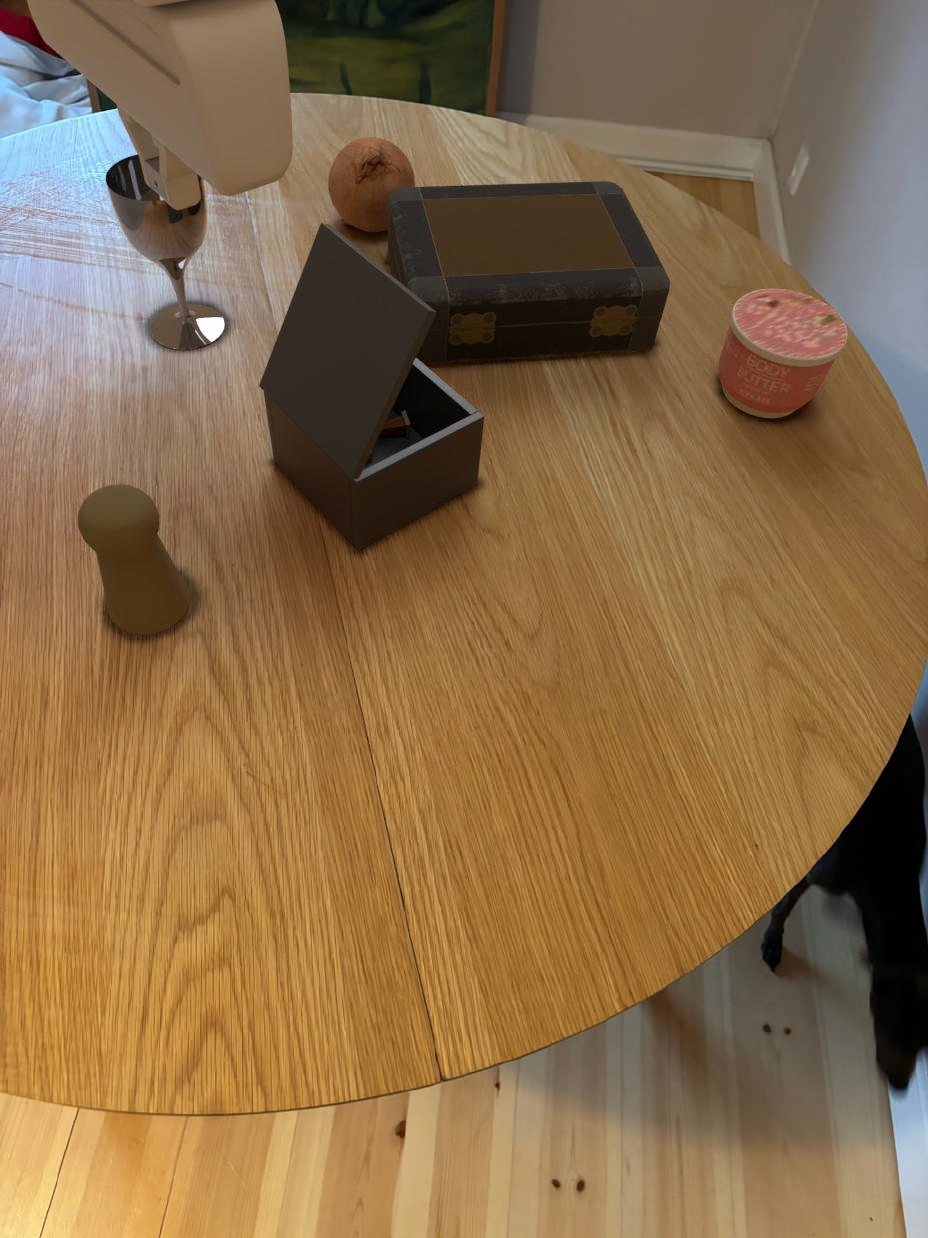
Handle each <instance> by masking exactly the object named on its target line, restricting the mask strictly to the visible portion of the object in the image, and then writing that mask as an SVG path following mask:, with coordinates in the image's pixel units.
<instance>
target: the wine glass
mask: <svg viewBox="0 0 928 1238" xmlns="http://www.w3.org/2000/svg"><path fill="white" fill-rule="evenodd" d="M197 176H198V182H199V188H200V193H201V198H200V201H199V202H198V203H197V204H196V205H194V206H190V207H187V208H184V209H181V210H176V209H173V208H172V207H171V206H170V205H169V204H168V203H167V202H166V201H165V200H164V199H163V198H162V197H161V196H160V195H159V194H158V193H157V192H155V191H154V190H153V189H152V188H150V187H149V186H148V185H147V184H146V182H145V179H144V175H143V171H142V166H141V162H140V158H139V155H138V154H137V153H136V154H133V155H129V156H126V157H124V158H122V159H120V160H118V161H117V162H115V163H114V164H112V165H111V166H110V168H109V169H107V172H106V174H105V185H106V188H107V192H108V196H109V199H110V203H111V205H112V208H113V209H112V210H113V212H114V216H115V217H116V219H117V221H118V224H119V226H120V228H121V230H122V232H123V234H124V236H125V237H126V239H127V241H128V242H129V244H130V245H131V246H132V248H133V249H134V250H136V251H137V253H139V254H140V255H141V256H143V258H146V259H148V260H149V261H150V262H152V263H153V264H155V265H157V266H158V267H159V268H160V269H162V271H164V272H165V274H166V275H167V277H168V279H169V280H170V283H171V285H172V288H173V291H174V293H175V296H176V299H177V304H178V305H174V306H171V307H168V308H166V309H164V310H162V311H161V312H159V313H158V314H157V315H156V316H154V317H153V320H152V321H151V323H150V326H149V332H150V335H151V337H152V339H153V340H155V342H156V343H158V344H160V346H164V347H166V348H169V349H173V350H182V351H183V350H184V351H187V350H195V349H200V348H203V347H206V346H208V345H211V344H212V343H214V342H216V341H217V340H218V339H219V338H220V337H221V336H222V335H223V333H224V331H225V327H226V322H225V319H224V317H223V315H221V313H219V312H218V311H217V310H215V309H214V308H212V307H210V306H207V305H203V304H195V303H187V298H186V291H185V274H186V273H185V272H186V269H187V266H188V265H189V263H190V262H191V260H192V259H193V258H194V257H195V255H196V254H197V253H198V251H199V250H200V249H201V247H202V245H203V243H204V241H205V238H206V234H207V229H208V228H207V227H208V226H207V225H208V201H207V192H206V185H205V180H204V179H203V178H201V177H200V176H199V175H198V174H197Z"/></svg>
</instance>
